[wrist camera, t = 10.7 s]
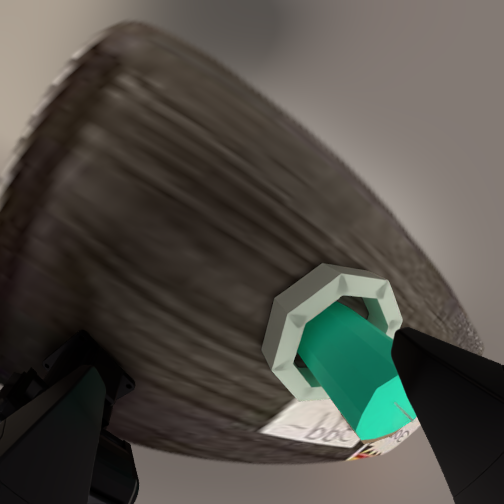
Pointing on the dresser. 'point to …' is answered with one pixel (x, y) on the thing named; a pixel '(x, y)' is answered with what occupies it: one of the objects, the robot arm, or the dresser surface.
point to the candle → (356, 371)
